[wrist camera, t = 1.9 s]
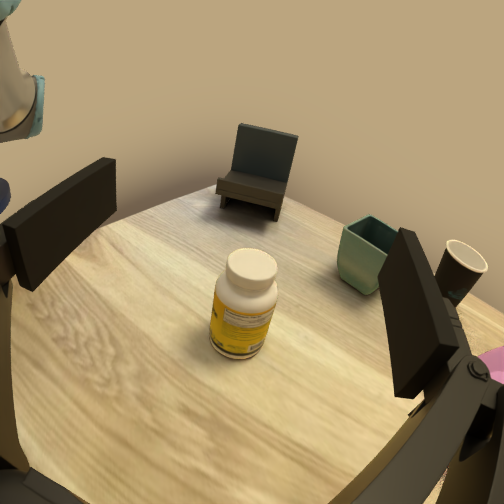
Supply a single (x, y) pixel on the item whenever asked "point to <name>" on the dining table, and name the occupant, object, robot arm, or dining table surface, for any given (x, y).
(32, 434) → the dining table surface
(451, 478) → the robot arm
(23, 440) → the dining table surface
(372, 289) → the flower pot
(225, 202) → the toy chair
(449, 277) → the dixie cup
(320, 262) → the dining table surface
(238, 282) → the pill bottle
